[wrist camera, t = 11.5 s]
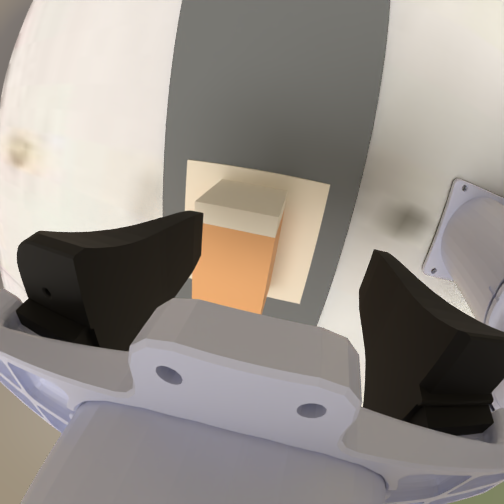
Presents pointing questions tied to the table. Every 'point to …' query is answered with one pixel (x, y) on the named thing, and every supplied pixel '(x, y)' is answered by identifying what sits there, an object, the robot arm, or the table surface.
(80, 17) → the table surface
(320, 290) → the mat
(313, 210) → the pad
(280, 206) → the card box
